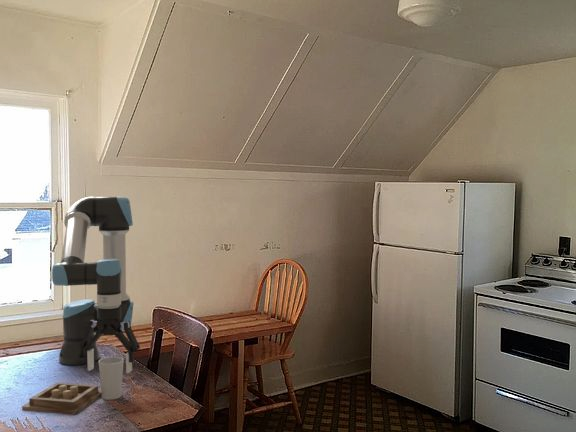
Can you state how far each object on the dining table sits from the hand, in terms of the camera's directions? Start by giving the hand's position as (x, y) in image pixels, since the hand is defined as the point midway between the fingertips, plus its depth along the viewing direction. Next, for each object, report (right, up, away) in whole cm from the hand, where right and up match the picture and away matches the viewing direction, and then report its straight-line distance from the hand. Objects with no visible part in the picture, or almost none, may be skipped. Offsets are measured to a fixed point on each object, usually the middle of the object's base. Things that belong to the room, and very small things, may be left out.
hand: (109, 370), depth 189 cm
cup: (0, -9, +1) cm, 9 cm away
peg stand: (-13, -9, -4) cm, 16 cm away
